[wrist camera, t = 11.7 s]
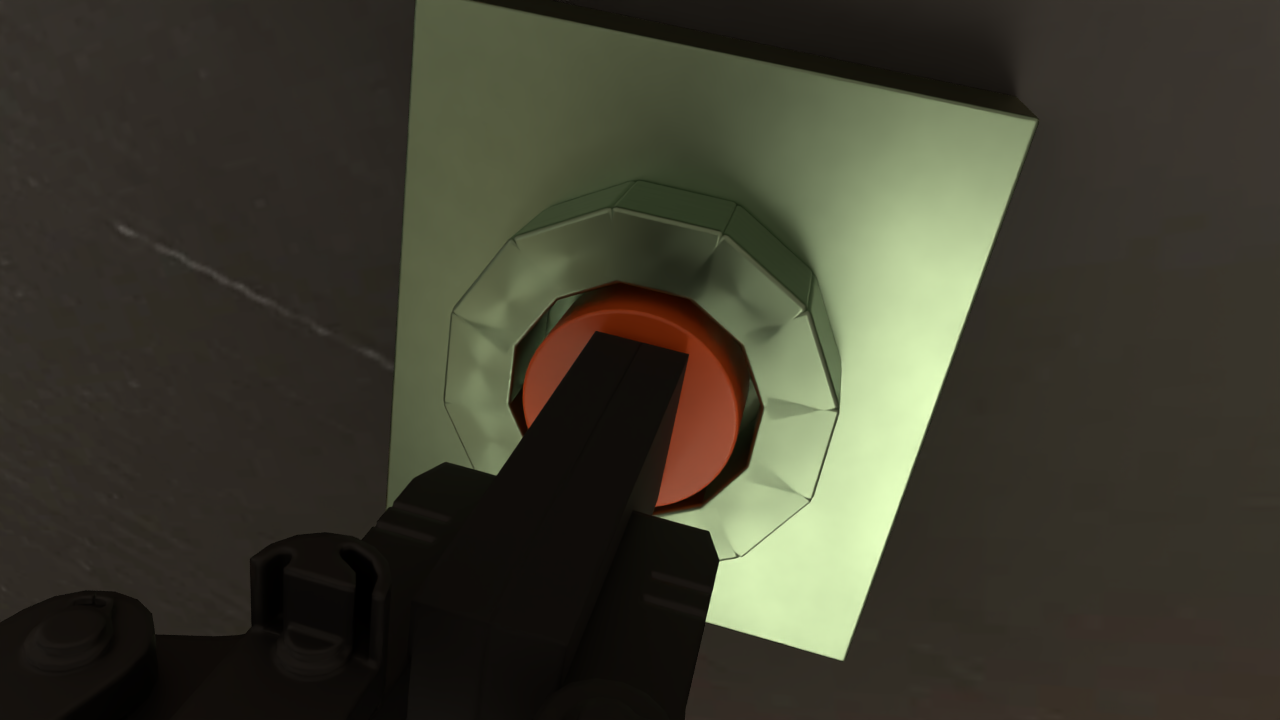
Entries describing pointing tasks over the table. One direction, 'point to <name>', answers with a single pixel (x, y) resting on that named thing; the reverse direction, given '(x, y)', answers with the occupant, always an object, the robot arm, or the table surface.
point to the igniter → (701, 264)
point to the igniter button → (707, 386)
